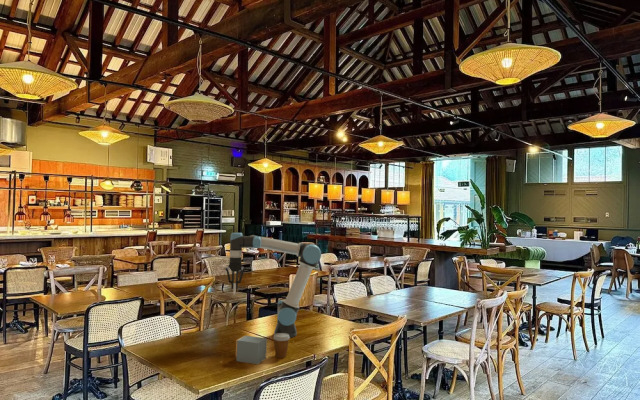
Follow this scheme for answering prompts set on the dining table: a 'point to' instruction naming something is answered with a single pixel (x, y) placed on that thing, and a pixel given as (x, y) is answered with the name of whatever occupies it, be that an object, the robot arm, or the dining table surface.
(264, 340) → the block
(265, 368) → the dining table surface
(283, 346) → the disposable coffee cup
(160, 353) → the dining table surface
